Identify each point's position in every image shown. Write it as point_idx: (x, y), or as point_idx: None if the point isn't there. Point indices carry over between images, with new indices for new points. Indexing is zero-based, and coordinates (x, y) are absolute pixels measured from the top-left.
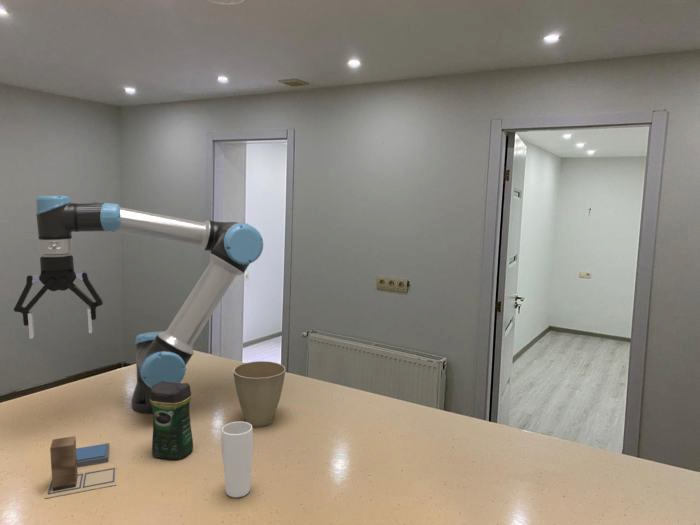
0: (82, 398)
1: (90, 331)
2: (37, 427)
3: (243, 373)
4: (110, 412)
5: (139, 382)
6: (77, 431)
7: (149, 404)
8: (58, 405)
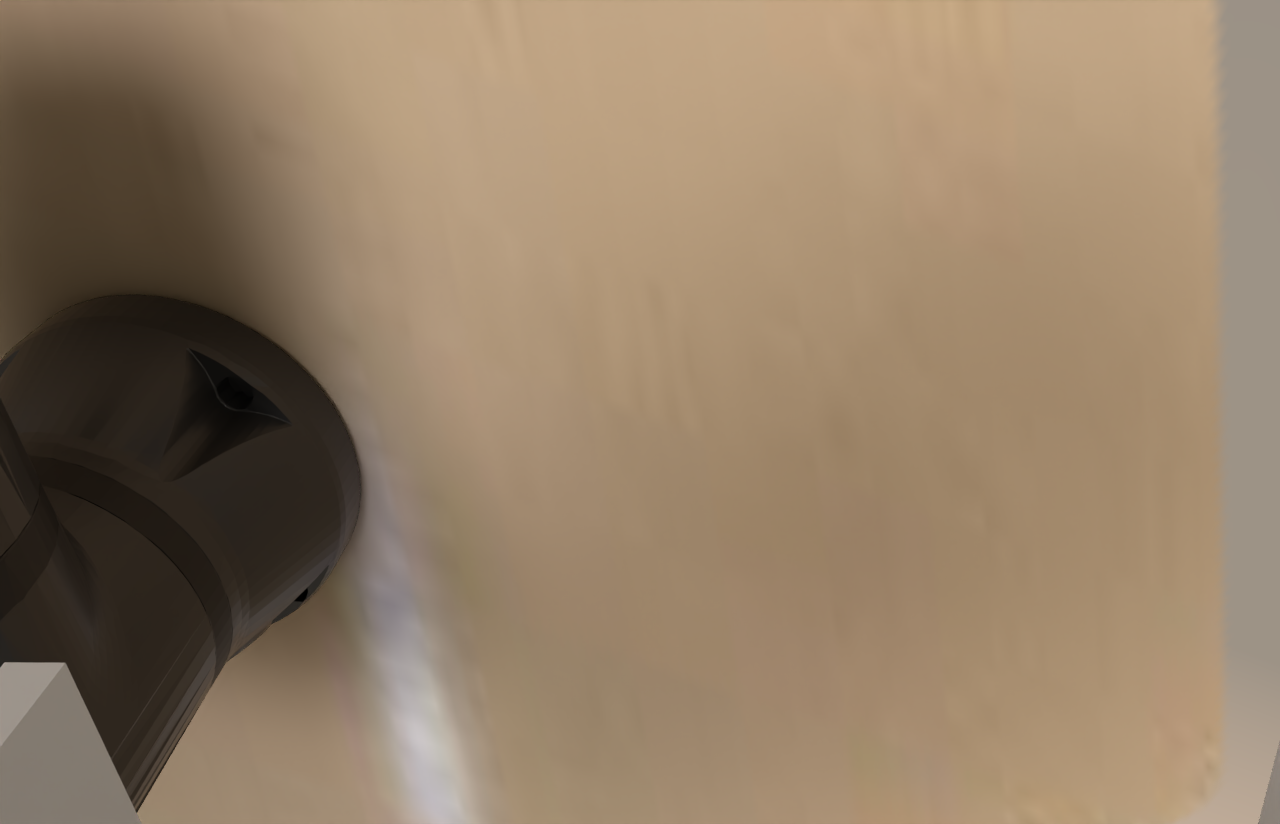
0: (728, 708)
1: (14, 689)
2: (991, 332)
3: None
4: (495, 418)
5: (189, 529)
6: (684, 150)
7: (166, 339)
8: (876, 654)
